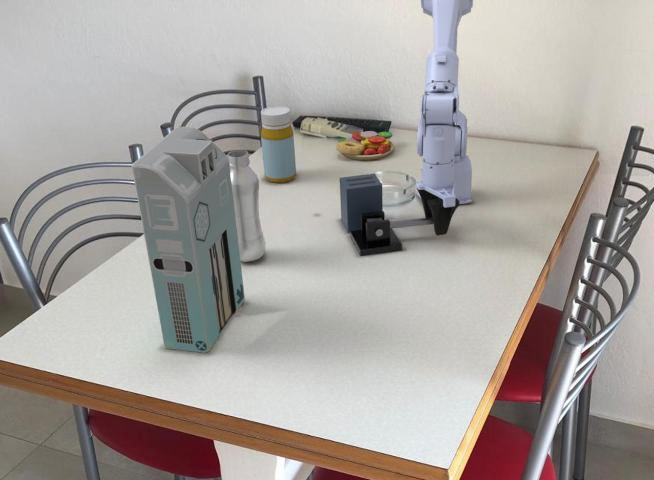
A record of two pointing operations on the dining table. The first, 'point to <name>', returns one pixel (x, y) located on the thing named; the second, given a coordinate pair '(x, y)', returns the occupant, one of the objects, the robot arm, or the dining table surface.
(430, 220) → the lever
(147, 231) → the device
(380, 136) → the toy food set
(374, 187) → the toaster body
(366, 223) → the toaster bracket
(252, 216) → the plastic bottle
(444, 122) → the robot arm
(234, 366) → the dining table surface
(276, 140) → the bottle
